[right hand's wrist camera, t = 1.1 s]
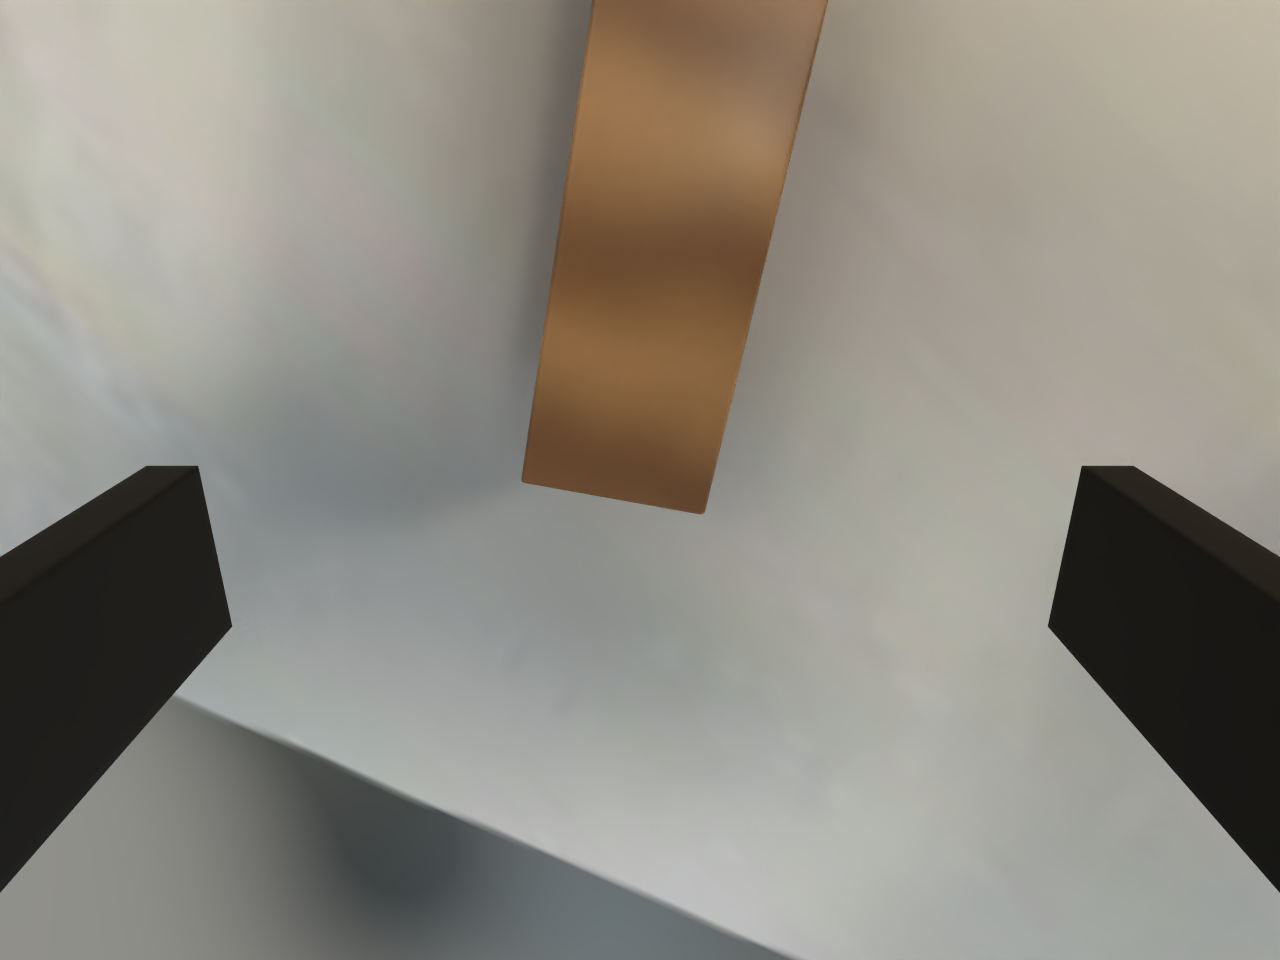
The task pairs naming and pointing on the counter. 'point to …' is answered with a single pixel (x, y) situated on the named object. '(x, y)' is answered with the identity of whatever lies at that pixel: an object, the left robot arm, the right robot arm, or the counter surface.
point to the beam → (664, 240)
